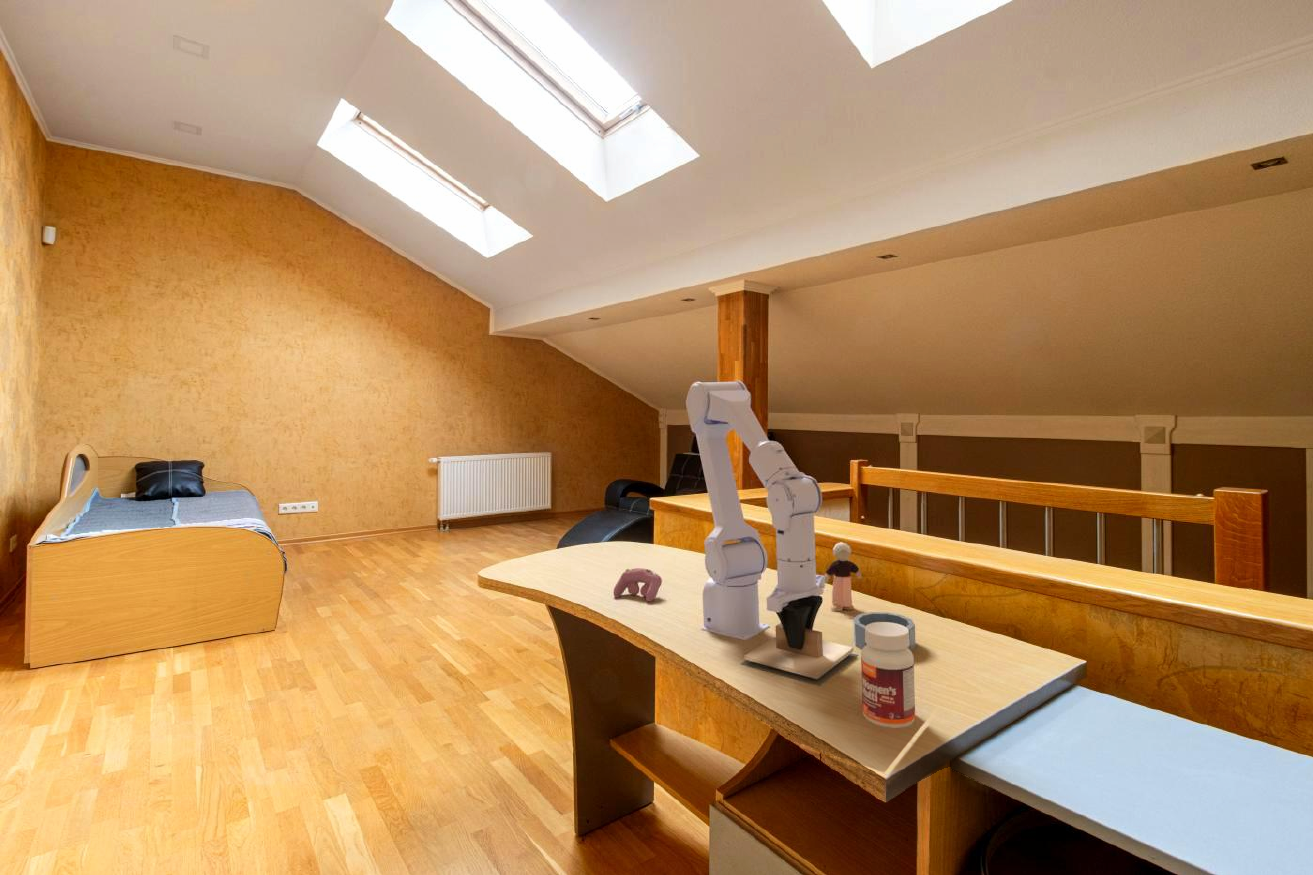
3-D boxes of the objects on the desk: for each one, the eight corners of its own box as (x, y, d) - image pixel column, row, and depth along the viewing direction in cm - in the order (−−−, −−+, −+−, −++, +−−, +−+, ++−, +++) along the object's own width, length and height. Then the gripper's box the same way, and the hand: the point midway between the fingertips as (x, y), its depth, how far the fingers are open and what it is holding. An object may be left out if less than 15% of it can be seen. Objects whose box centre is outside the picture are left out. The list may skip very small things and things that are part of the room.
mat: (740, 666, 95) (740, 663, 95) (783, 639, 105) (783, 637, 105) (819, 688, 86) (819, 685, 86) (858, 657, 96) (858, 654, 96)
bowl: (845, 649, 100) (844, 624, 99) (868, 632, 106) (867, 608, 106) (902, 662, 94) (901, 635, 93) (922, 643, 100) (922, 618, 100)
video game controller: (660, 605, 131) (666, 572, 133) (649, 601, 127) (656, 567, 130) (621, 600, 136) (628, 568, 138) (610, 595, 132) (617, 563, 135)
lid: (744, 659, 95) (743, 632, 95) (784, 635, 104) (783, 610, 104) (817, 679, 87) (816, 650, 87) (853, 651, 96) (852, 625, 96)
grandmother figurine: (834, 614, 116) (832, 546, 115) (821, 608, 119) (819, 542, 119) (867, 607, 119) (865, 541, 118) (853, 602, 122) (851, 538, 122)
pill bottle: (854, 721, 77) (851, 631, 77) (873, 701, 82) (871, 616, 81) (905, 736, 73) (903, 641, 73) (922, 715, 78) (920, 625, 77)
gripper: (796, 572, 87) (799, 668, 87) (841, 550, 98) (844, 636, 98) (752, 565, 91) (756, 656, 92) (800, 545, 102) (803, 627, 103)
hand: (798, 645), depth 95 cm, fingers closed on lid, 2 cm apart
